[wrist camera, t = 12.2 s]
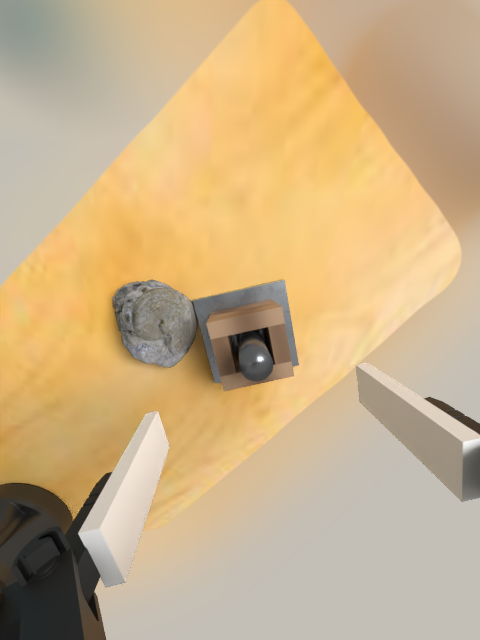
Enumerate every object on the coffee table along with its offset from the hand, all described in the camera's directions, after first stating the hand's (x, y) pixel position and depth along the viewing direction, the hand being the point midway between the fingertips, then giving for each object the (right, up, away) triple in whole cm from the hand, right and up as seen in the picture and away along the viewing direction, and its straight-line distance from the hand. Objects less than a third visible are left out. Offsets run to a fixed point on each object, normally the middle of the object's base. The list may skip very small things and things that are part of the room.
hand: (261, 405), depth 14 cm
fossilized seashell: (-12, +6, +16) cm, 21 cm away
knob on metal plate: (0, +4, +16) cm, 17 cm away
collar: (0, +4, +15) cm, 16 cm away
